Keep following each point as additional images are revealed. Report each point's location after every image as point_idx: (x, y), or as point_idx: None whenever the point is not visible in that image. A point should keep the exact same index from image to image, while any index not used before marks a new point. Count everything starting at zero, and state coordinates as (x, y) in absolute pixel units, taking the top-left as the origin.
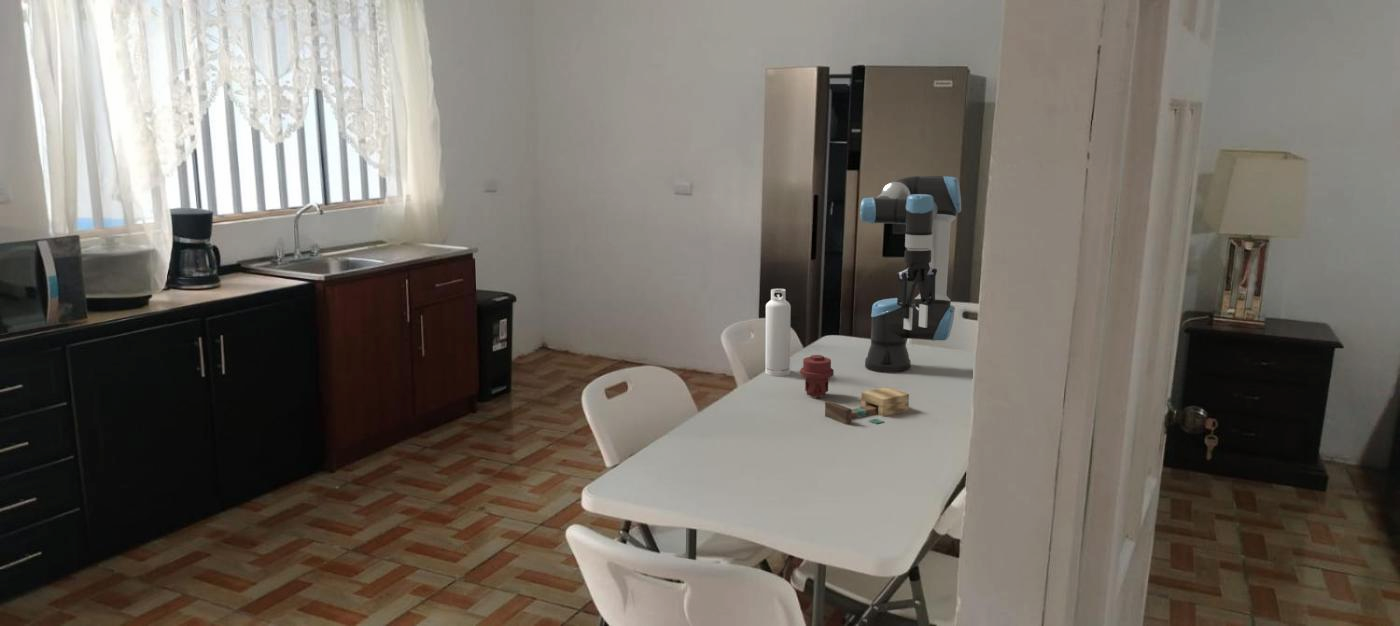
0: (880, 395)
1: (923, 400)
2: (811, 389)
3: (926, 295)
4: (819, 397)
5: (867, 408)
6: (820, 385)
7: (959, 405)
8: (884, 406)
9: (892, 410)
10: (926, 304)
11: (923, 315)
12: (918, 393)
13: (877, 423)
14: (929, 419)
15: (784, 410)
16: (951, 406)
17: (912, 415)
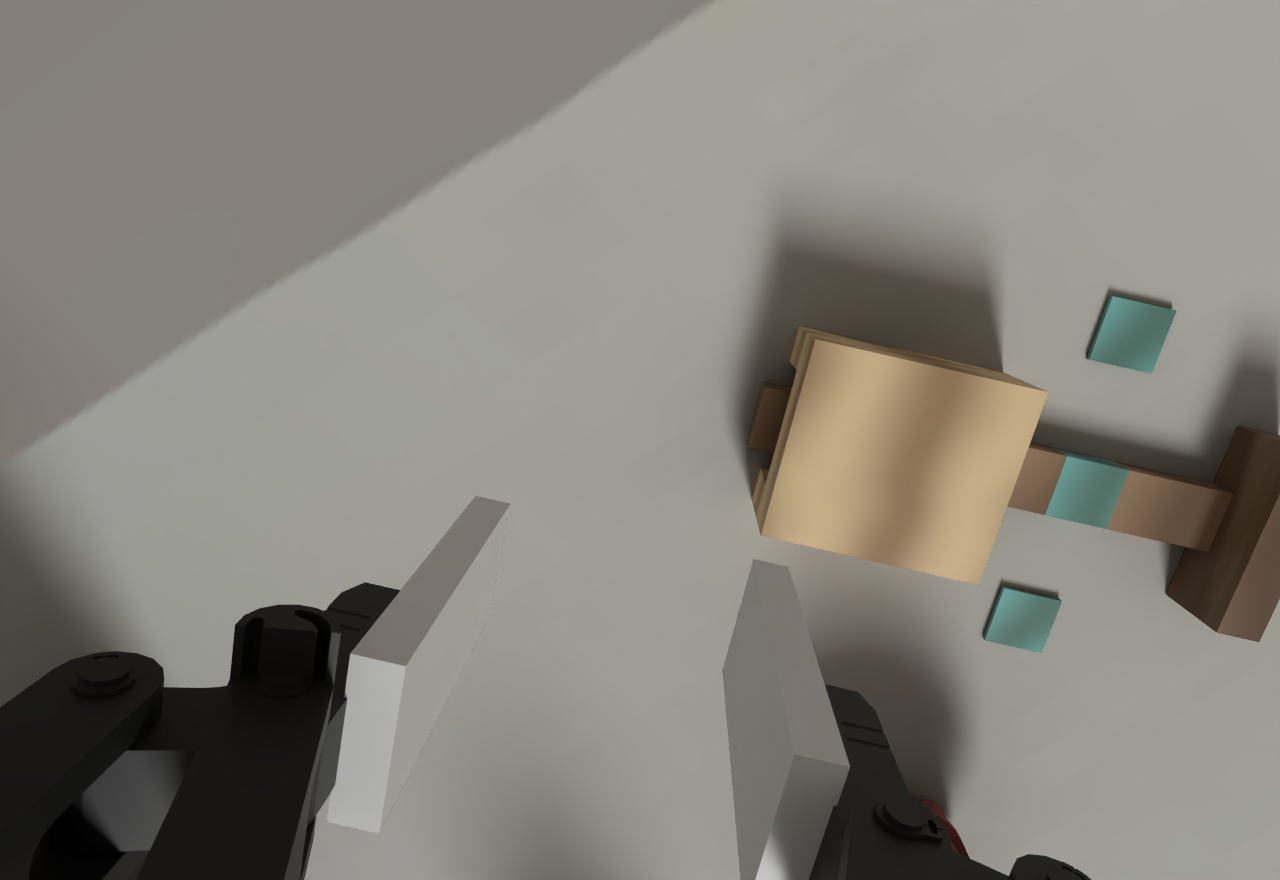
0: (969, 457)
1: (559, 373)
2: None
3: (276, 844)
4: (928, 802)
5: (1026, 472)
6: (953, 848)
7: (491, 150)
8: (1013, 379)
9: (932, 358)
10: (331, 704)
11: (457, 618)
12: (459, 472)
13: (1161, 307)
14: (879, 123)
15: (1237, 803)
16: (545, 176)
17: (874, 249)
